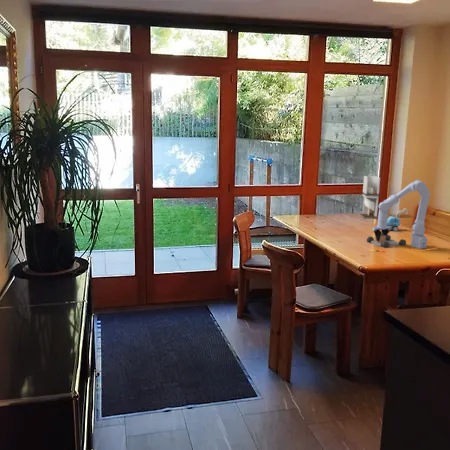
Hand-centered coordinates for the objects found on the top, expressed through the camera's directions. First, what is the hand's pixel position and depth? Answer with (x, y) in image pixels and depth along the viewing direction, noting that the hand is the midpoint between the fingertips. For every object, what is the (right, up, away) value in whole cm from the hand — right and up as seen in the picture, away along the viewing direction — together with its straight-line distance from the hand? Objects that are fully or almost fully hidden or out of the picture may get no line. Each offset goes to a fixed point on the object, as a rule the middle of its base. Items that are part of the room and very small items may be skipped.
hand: (380, 240), depth 322 cm
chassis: (+4, -3, +3) cm, 6 cm away
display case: (+20, +16, +94) cm, 98 cm away
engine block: (0, -1, +1) cm, 1 cm away
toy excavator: (+26, +6, +48) cm, 55 cm away
